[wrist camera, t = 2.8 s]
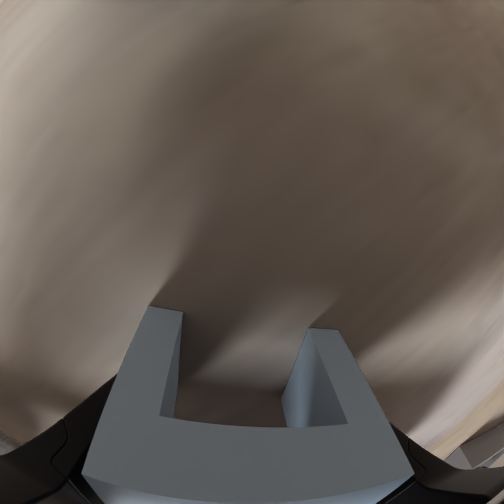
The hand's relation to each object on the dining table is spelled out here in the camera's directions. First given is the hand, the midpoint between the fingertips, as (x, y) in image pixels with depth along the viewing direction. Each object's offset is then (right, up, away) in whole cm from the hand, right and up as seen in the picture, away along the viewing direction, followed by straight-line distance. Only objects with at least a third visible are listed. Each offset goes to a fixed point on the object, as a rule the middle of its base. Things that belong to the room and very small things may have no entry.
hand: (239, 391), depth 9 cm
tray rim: (+31, -27, +14) cm, 43 cm away
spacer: (0, +1, +1) cm, 2 cm away
